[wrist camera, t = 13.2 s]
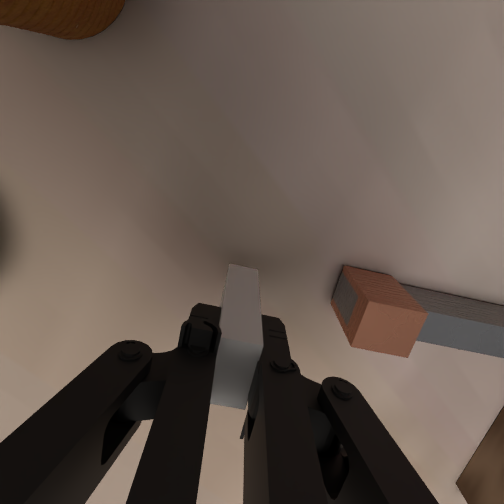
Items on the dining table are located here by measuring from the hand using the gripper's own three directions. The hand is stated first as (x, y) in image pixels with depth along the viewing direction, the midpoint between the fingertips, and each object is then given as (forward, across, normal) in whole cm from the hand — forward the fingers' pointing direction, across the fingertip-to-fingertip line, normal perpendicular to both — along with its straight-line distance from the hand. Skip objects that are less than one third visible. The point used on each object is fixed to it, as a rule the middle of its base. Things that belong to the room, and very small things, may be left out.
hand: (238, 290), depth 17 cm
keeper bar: (+3, +13, 0) cm, 13 cm away
